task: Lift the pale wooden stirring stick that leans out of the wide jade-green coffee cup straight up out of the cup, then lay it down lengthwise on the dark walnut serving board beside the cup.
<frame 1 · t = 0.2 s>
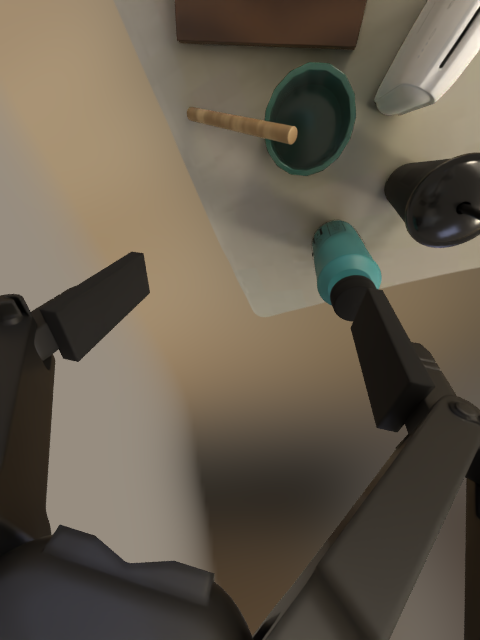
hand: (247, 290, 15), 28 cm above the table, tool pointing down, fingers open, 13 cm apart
stirrer: (233, 123, 28), point 6 cm above the table, tilted 85°, touching coffee cup
drinking cup: (404, 184, 33), on the table
coffee cup: (306, 128, 31), on the table
beverage bottle: (333, 238, 38), on the table
photo printer: (416, 56, 26), on the table
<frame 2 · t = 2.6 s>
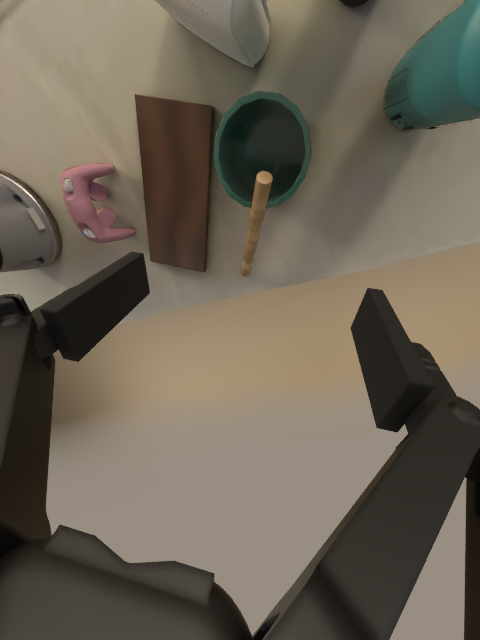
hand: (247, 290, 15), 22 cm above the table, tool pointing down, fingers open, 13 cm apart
stirrer: (252, 238, 29), point 6 cm above the table, tilted 85°, touching coffee cup
coffee cup: (269, 154, 29), on the table
beverage bottle: (415, 90, 24), on the table
photo printer: (221, 19, 24), on the table
video game controller: (112, 202, 37), on the table
board: (178, 197, 34), on the table
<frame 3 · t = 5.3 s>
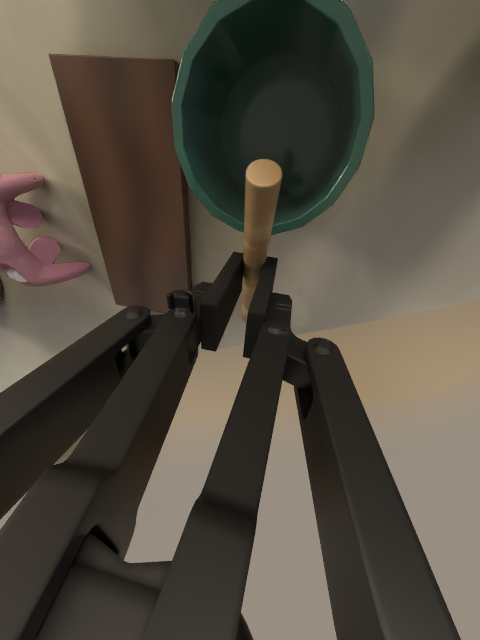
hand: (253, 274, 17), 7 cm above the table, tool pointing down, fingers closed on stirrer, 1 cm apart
stirrer: (252, 278, 18), point 6 cm above the table, tilted 84°, touching coffee cup, gripper
coffee cup: (278, 138, 17), on the table
video game controller: (53, 228, 26), on the table
board: (142, 215, 23), on the table
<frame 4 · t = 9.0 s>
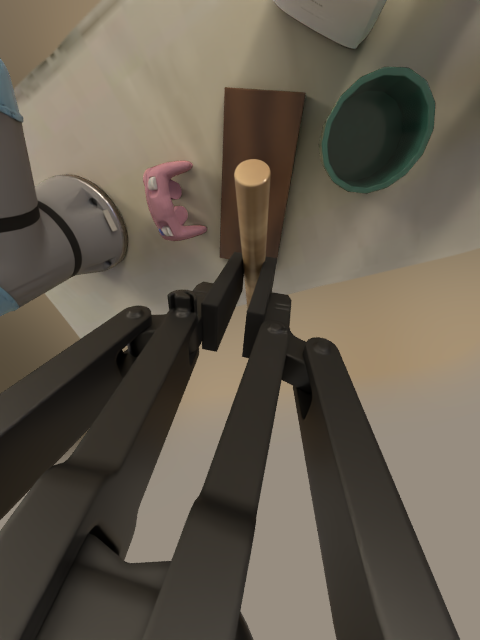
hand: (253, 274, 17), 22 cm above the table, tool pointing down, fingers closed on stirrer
stirrer: (254, 279, 18), point 21 cm above the table, tilted 84°, touching gripper
coffee cup: (360, 139, 28), on the table
photo printer: (324, 2, 23), on the table
video game controller: (184, 200, 37), on the table
board: (255, 190, 34), on the table
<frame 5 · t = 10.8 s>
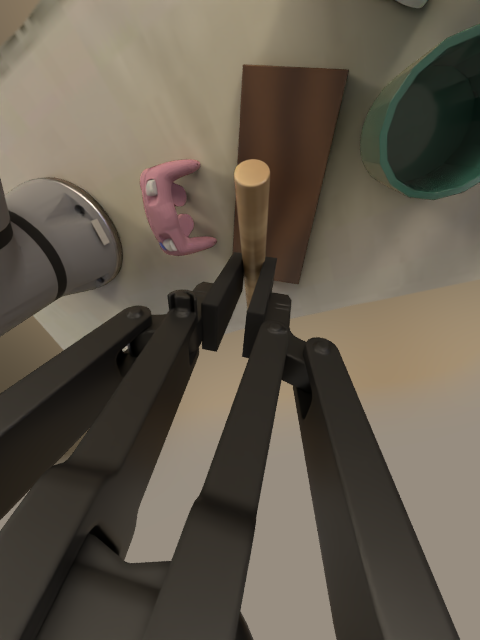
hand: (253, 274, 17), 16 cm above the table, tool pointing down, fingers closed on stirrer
stirrer: (254, 279, 18), point 15 cm above the table, tilted 83°, touching gripper
coffee cup: (414, 130, 22), on the table
video game controller: (189, 207, 31), on the table
board: (276, 194, 28), on the table
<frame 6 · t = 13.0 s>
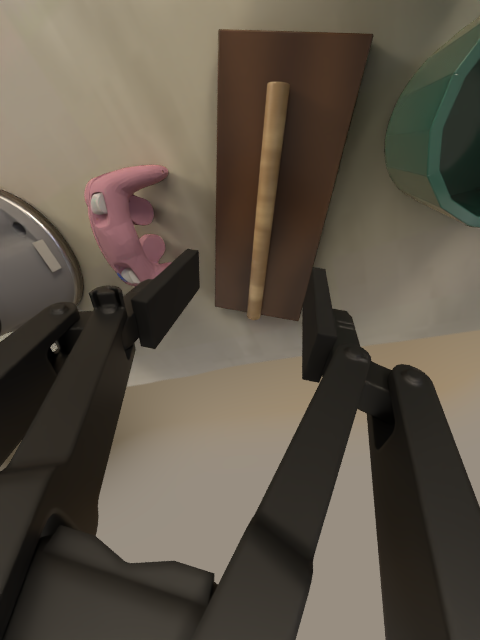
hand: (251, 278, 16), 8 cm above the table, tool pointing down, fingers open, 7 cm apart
stirrer: (263, 229, 20), point 2 cm above the table, tilted 45°, touching board
coffee cup: (463, 124, 16), on the table
video game controller: (159, 225, 24), on the table
board: (270, 211, 21), on the table
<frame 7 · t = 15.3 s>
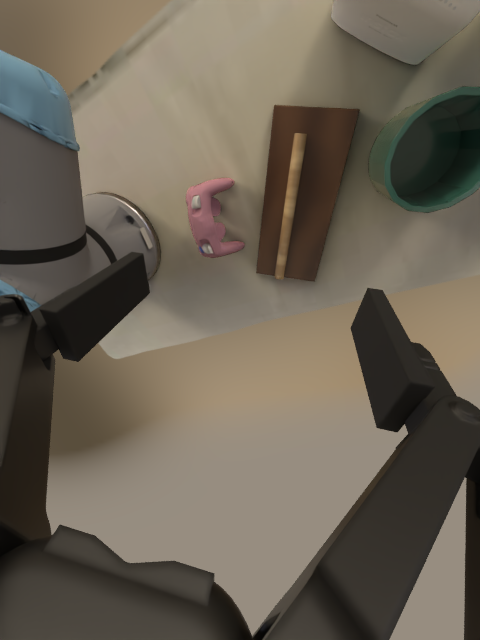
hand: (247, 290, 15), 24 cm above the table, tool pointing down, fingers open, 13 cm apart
stirrer: (288, 217, 32), point 2 cm above the table, tilted 67°, touching board
coffee cup: (412, 154, 28), on the table
photo printer: (384, 19, 23), on the table
video game controller: (222, 216, 36), on the table
board: (297, 206, 33), on the table
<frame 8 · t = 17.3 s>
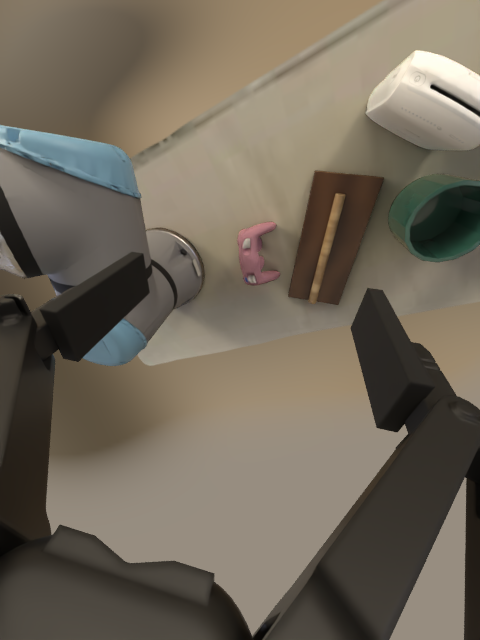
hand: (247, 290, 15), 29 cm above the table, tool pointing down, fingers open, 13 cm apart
stirrer: (324, 255, 39), point 2 cm above the table, tilted 45°, touching board
coffee cup: (424, 210, 35), on the table
photo printer: (406, 115, 30), on the table
video game controller: (261, 250, 43), on the table
board: (327, 245, 40), on the table
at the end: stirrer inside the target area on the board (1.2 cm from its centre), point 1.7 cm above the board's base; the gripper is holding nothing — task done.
